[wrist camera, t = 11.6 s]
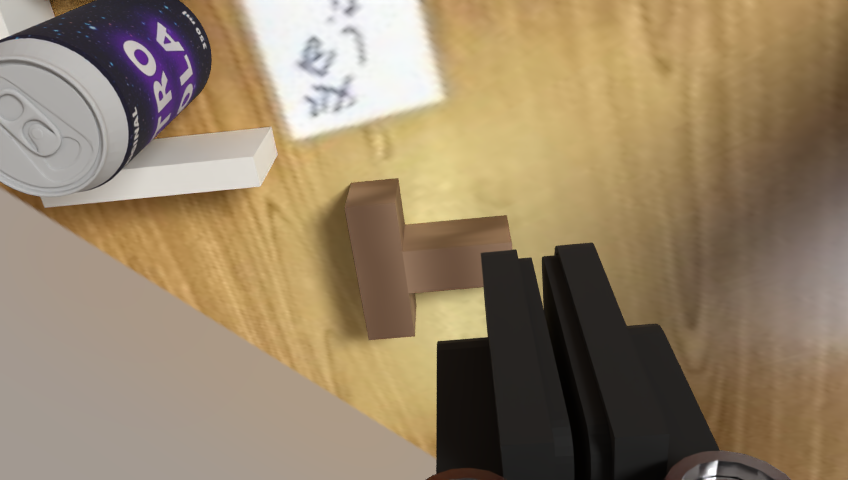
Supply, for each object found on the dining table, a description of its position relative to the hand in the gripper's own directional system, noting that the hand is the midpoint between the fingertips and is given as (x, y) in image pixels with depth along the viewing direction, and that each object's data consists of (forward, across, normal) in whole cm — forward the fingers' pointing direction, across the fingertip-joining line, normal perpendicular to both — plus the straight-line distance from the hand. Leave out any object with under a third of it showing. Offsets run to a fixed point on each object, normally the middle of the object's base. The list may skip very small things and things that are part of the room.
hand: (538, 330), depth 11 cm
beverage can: (+25, +15, 0) cm, 29 cm away
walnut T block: (+25, +3, +12) cm, 28 cm away
